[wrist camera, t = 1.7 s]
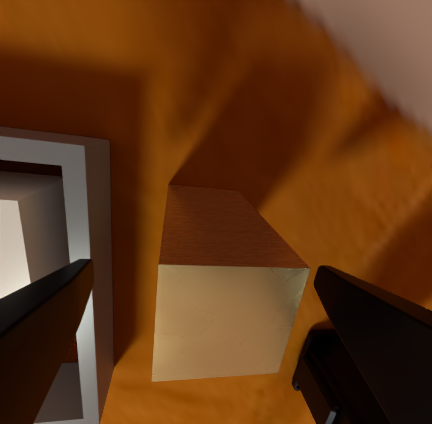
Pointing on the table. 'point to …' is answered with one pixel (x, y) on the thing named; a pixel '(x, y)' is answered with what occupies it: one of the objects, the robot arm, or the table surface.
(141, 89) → the table surface
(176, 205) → the peg
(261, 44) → the table surface
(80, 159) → the walled frame
